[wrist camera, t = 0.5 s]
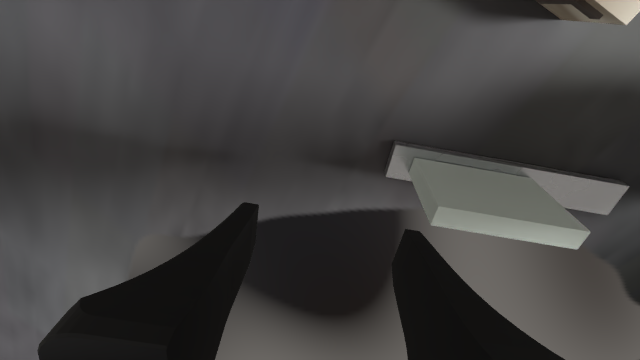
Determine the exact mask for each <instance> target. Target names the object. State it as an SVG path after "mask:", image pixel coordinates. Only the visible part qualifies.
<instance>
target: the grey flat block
mask: <svg viewBox="0 0 640 360" xmlns="http://www.w3.org/2000/svg"><path fill="white" fill-rule="evenodd" d="M409 175H410V178H411V180H412V182H413V185H414V187H415V190H416V192H417V194H418V197H419V199H420V202H421V204H422V206H423V209H424V211H425V213H426V216H427V218H428V221H429V223H430V225H434V226H439V227H445V228H451V229H457V230H463V231H469V232H475V233H481V234H487V235H493V236H500V237H505V238H511V239H517V240H523V241H529V242H535V243H541V244H547V245H553V246H559V247H565V248H571V249H578V248H579V247H580V246H581V244H582V243H583V242H584V240H585V239H586V238H587V236H588V235H589V234H590V233H591V232H590V231H589V230H588V229H587V228H586V227H585V226H584V225H583V224H581V223H580V222H579V221H578V220H577V219H576V218H575V217H574V216H573V215H571V214H570V213H569V212H568V211H567V210H566V209H565V208H564V207H563V206H562V205H560V204H559V203H558V202H557V201H556V200H555V199H554V198H553V197H552V196H551V195H549V194H548V193H547V192H546V191H545V190H544V189H543V188H542V187H541V186H539V185H538V184H537V183H536V182H535V181H534V180H533V179H532V178H527V177H522V176H516V175H510V174H505V173H499V172H493V171H488V170H482V169H476V168H470V167H465V166H459V165H453V164H448V163H442V162H436V161H431V160H425V159H419V158H414V160H413V163H412V166H411V169H410V171H409Z"/></svg>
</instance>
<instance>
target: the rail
mask: <svg viewBox="0 0 640 360" xmlns="http://www.w3.org/2000/svg"><path fill="white" fill-rule="evenodd" d="M414 158H419V159H425V160H431V161H436V162H442V163H448V164H453V165H459V166H465V167H470V168H476V169H482V170H488V171H493V172H499V173H505V174H510V175H516V176H522V177H527V178H532V179H533V180H534V181H535V182H536V183H537V184H538V185H539V186H541V187H542V188H543V189H544V190H545V191H546V192H547V193H548V194H549V195H551V196H552V197H553V198H554V199H555V200H556V201H557V202H558V203H559V204H560V205H562V206H563V207H564V208H569V209H575V210H580V211H586V212H592V213H598V214H604V215H608V214H609V213H610V211H611V210H612V209H613V207H614V206H615V205H616V204H617V202H618V201H619V200H620V198H621V197H622V196H623V195H624V193H625V192H626V191H627V189H628V188H629V187H630V186H628V185H627V184H625V183H624V182H622V181H620V180H615V179H609V178H603V177H598V176H592V175H587V174H581V173H575V172H570V171H564V170H558V169H553V168H547V167H542V166H536V165H530V164H525V163H519V162H514V161H508V160H502V159H497V158H491V157H485V156H480V155H474V154H469V153H463V152H457V151H452V150H446V149H440V148H435V147H429V146H424V145H418V144H412V143H407V142H401V141H396V140H394V142H393V145H392V148H391V151H390V154H389V158H388V161H387V164H386V167H385V171H384V172H385V176H386V177H389V178H395V179H401V180H407V181H412V180H411V178H410V175H409V171H410V169H411V166H412V163H413V160H414Z"/></svg>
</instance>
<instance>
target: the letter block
mask: <svg viewBox="0 0 640 360" xmlns="http://www.w3.org/2000/svg"><path fill="white" fill-rule="evenodd" d="M535 1H537V2H538V3H539V4H541V5H542V6H543V7H545V8H546V9H547V10H549V11H550V12H552V13H553V14H554V15H556V16H557V17H558V18H560V19H561V20H570V21H582V22H594V23H606V24H618V25H627V24H628V23H629V22H630V21H631V20H632V19H633V18H634V17H635V16H636V14H637V13H638V12H639V11H640V0H535Z"/></svg>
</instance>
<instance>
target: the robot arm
mask: <svg viewBox="0 0 640 360" xmlns="http://www.w3.org/2000/svg"><path fill="white" fill-rule="evenodd" d="M258 208H259V205H258V204H251V203H245V202H244V203H242V204H241V205H240V206H239V207H238V208H237V209H236V210H235V211H234V212H233V213H232V214H231V215H230V216H228V217H227V218H226V219H225V220H224V221H223V222H222V223H221V224H219V225H218V226H217V227H216V228H215V229H214V230H212V231H211V232H210V233H209V234H207V235H206V236H205V237H203V238H202V239H201V240H199V241H198V242H197V243H195V244H194V245H193V246H191V247H190V248H188V249H187V250H185V251H184V252H182V253H180V254H179V255H177V256H176V257H174V258H172V259H170V260H169V261H167V262H165V263H163V264H162V265H159V266H158V267H156V268H154V269H152V270H150V271H148V272H146V273H144V274H142V275H139V276H137V277H135V278H133V279H130V280H128V281H126V282H123V283H121V284H119V285H116V286H114V287H111V288H108V289H105V290H103V291H100V292H97V293H94V294H92V295H89V296H86V297H83V298H81V299H80V300H79V301H78V302H77V303H76V304H75V305H74V306H72V307H71V308H70V309H69V310H68V311H67V313H66V314H65V315H64V316H63V317H62V318H61V319H60V321H59V322H58V323H57V324H56V325H55V326H54V328H53V329H52V330H51V331H50V332H49V333H48V334H47V336H46V337H45V338H44V339H43V340H42V341H41V343H40V344H39V347H38V355H39V359H40V360H215V357H216V354H217V351H218V347H219V344H220V341H221V337H222V334H223V330H224V327H225V324H226V321H227V318H228V316H229V313H230V310H231V308H232V305H233V303H234V300H235V298H236V296H237V293H238V291H239V289H240V286H241V284H242V281H243V279H244V276H245V274H246V271H247V269H248V267H249V264H250V261H251V257H252V253H253V250H254V246H255V243H256V230H257V220H258ZM392 276H393V287H394V292H395V296H396V301H397V305H398V310H399V314H400V319H401V323H402V328H403V332H404V337H405V342H406V347H407V355H408V360H565V359H563V358H561V357H560V356H558V355H557V354H555V353H553V352H552V351H550V350H549V349H547V348H546V347H544V346H543V345H541V344H540V343H538V342H537V341H536V340H534V339H533V338H531V337H529V336H528V335H527V334H526V333H524V332H523V331H521V330H520V329H519V328H517V327H516V326H515V325H514V324H512V323H511V322H510V321H508V320H507V319H506V318H504V317H503V316H502V315H501V314H499V313H498V312H497V311H496V310H494V309H493V308H492V307H491V306H490V305H489V304H488V303H487V302H485V301H484V300H483V299H482V298H481V297H480V296H479V295H478V294H477V293H476V292H474V291H473V290H472V289H471V288H470V287H469V286H468V285H467V284H466V283H465V282H464V281H463V280H462V279H461V277H460V276H459V275H458V274H457V273H456V272H455V271H454V270H453V269H452V268H451V267H450V266H449V265H448V263H447V262H446V261H445V260H444V259H443V258H442V257H441V256H440V254H439V253H438V252H437V251H436V250H435V248H434V247H433V246H432V245H431V244H430V243H429V241H428V240H427V239H426V238H425V237H424V236H423V235H422V233H420V232H419V231H414V230H408V229H405V231H404V234H403V236H402V239H401V242H400V244H399V247H398V249H397V252H396V254H395V257H394V260H393V262H392Z"/></svg>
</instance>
